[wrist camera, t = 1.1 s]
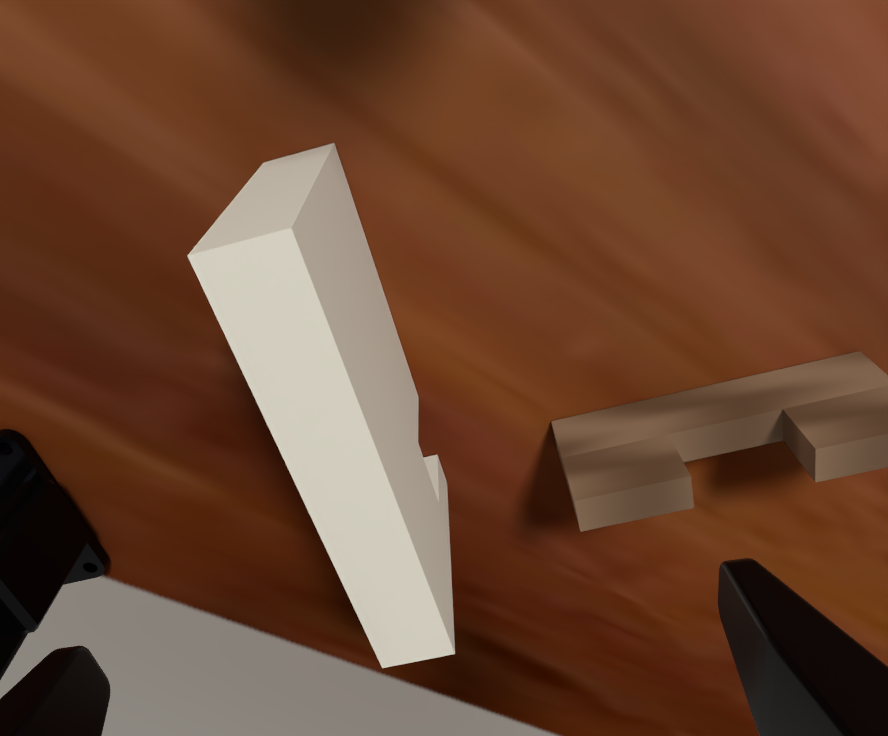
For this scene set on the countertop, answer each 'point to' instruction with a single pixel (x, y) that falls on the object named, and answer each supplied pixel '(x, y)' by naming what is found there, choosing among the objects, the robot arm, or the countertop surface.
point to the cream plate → (336, 393)
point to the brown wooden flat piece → (722, 435)
